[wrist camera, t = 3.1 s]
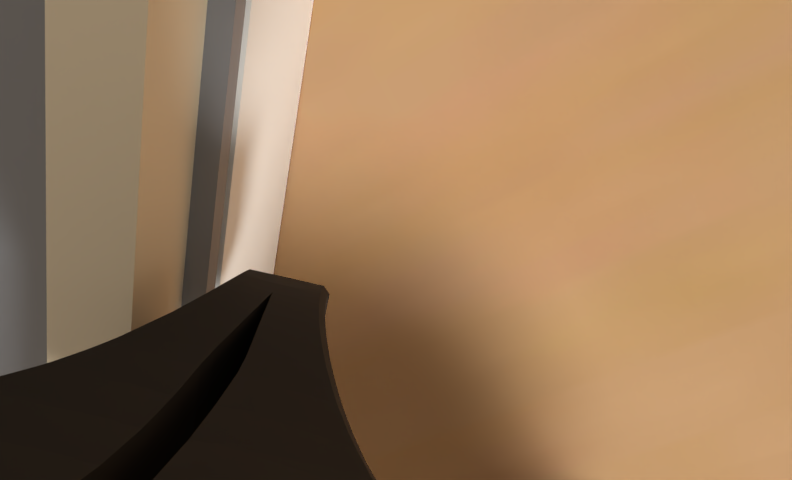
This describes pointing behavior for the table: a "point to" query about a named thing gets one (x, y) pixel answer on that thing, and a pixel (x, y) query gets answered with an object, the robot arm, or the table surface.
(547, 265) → the table surface
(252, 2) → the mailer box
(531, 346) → the table surface
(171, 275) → the lid
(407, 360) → the table surface
